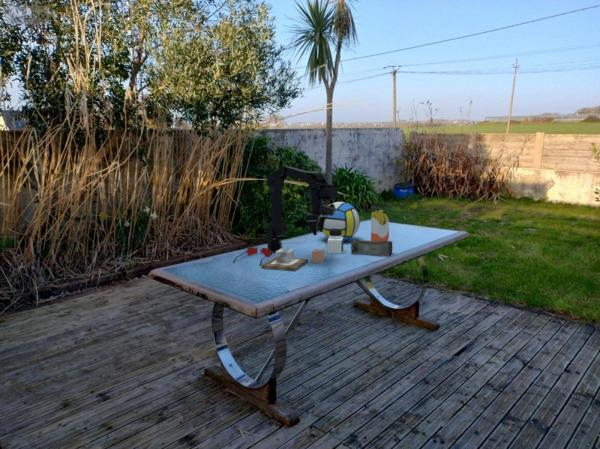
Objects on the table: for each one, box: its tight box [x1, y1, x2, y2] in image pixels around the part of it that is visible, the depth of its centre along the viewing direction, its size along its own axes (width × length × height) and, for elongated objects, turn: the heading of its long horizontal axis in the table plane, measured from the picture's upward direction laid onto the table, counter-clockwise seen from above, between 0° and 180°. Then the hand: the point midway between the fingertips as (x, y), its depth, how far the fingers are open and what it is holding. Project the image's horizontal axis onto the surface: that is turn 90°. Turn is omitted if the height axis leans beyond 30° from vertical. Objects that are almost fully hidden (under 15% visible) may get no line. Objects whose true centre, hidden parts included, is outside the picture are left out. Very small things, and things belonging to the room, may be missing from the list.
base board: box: [260, 248, 309, 272], centre depth 191 cm, size 16×16×7 cm
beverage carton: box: [350, 239, 393, 257], centre depth 208 cm, size 8×19×7 cm, turn 68°
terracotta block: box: [310, 248, 326, 264], centre depth 197 cm, size 5×5×5 cm
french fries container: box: [370, 209, 390, 241], centre depth 229 cm, size 5×11×18 cm, turn 134°
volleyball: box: [322, 201, 361, 242], centre depth 238 cm, size 22×22×22 cm
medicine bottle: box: [327, 228, 344, 255], centre depth 213 cm, size 7×7×12 cm
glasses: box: [232, 246, 274, 267], centre depth 201 cm, size 14×16×5 cm
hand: (318, 233), depth 195 cm, fingers open, 9 cm apart
